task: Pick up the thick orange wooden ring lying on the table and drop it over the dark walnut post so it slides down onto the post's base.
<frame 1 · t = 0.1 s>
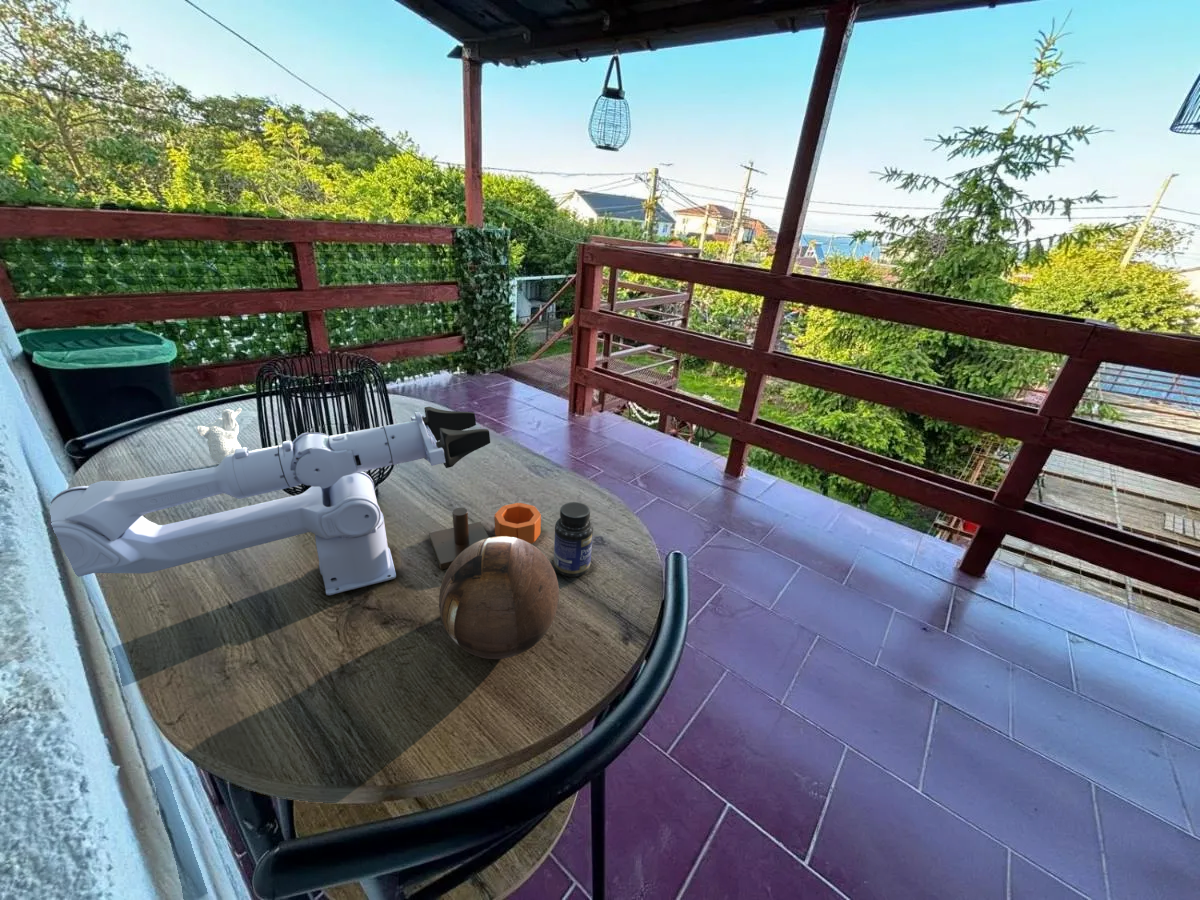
hand: (481, 427, 74), 22 cm above the table, tool horizontal, fingers open, 7 cm apart
peg stand: (462, 546, 82), on the table
ring: (517, 533, 86), on the table
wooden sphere: (501, 639, 65), on the table
pill bottle: (571, 566, 79), on the table
white sheep figurine: (233, 465, 101), on the table
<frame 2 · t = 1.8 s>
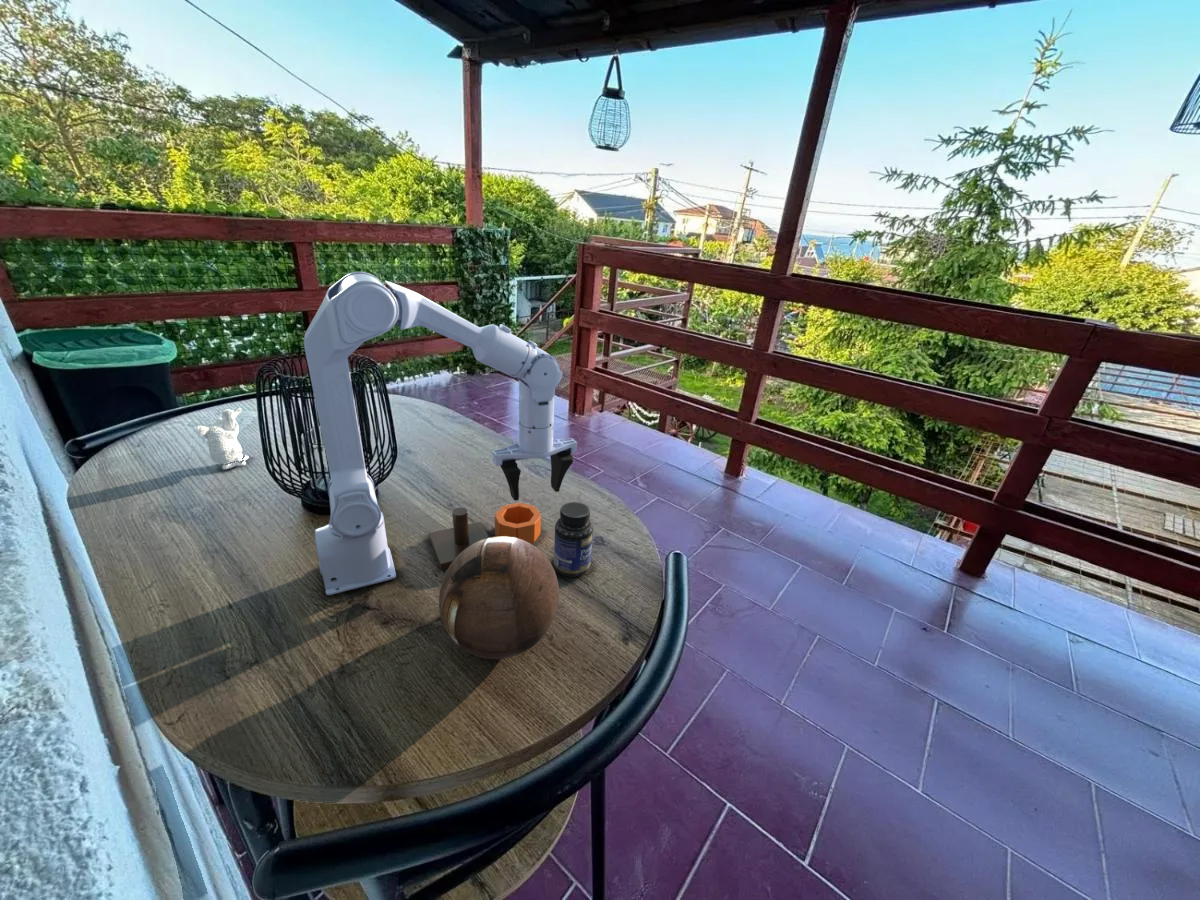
hand: (535, 493, 84), 8 cm above the table, tool pointing down, fingers open, 7 cm apart
nothing on the table moved.
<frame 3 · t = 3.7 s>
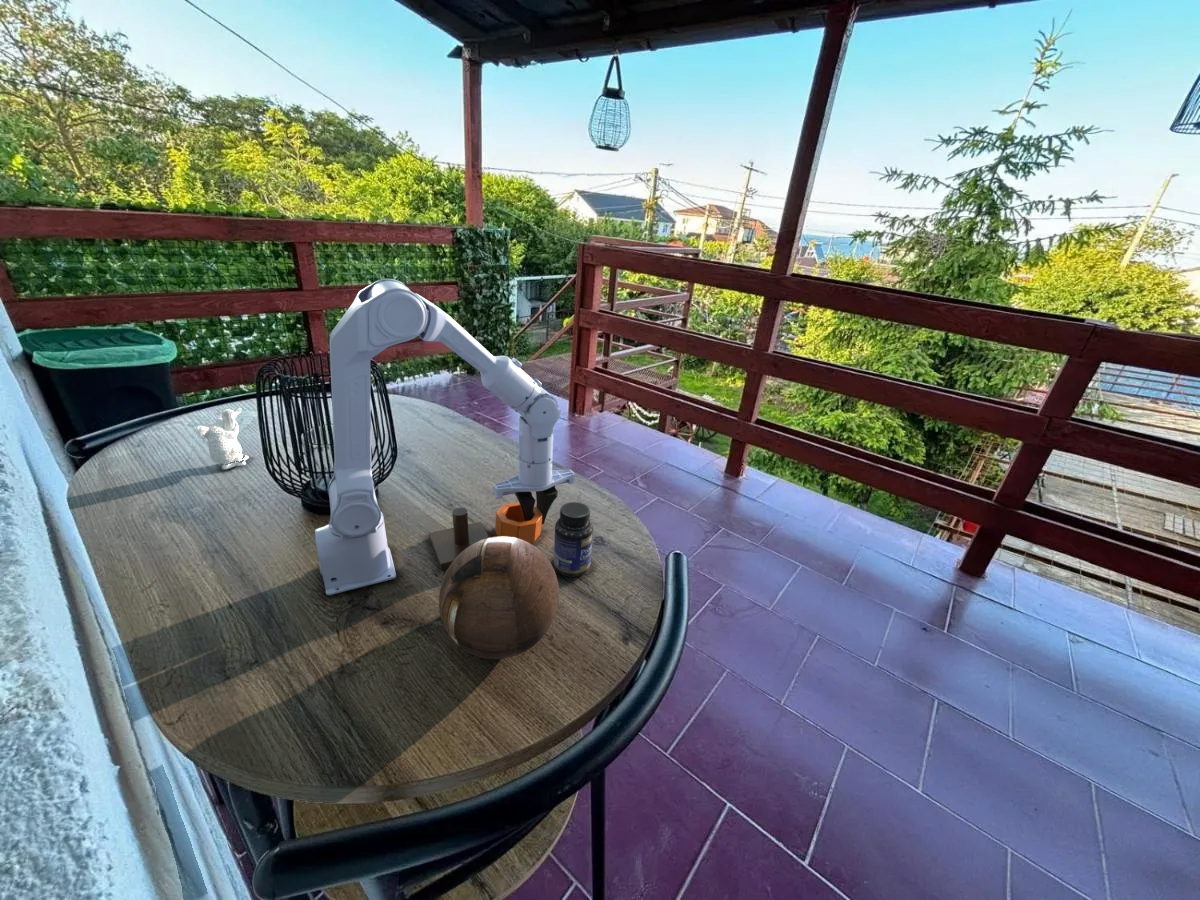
hand: (534, 522, 87), 1 cm above the table, tool pointing down, fingers closed on ring, 2 cm apart
ring: (518, 532, 86), on the table, touching gripper
everything else where it was.
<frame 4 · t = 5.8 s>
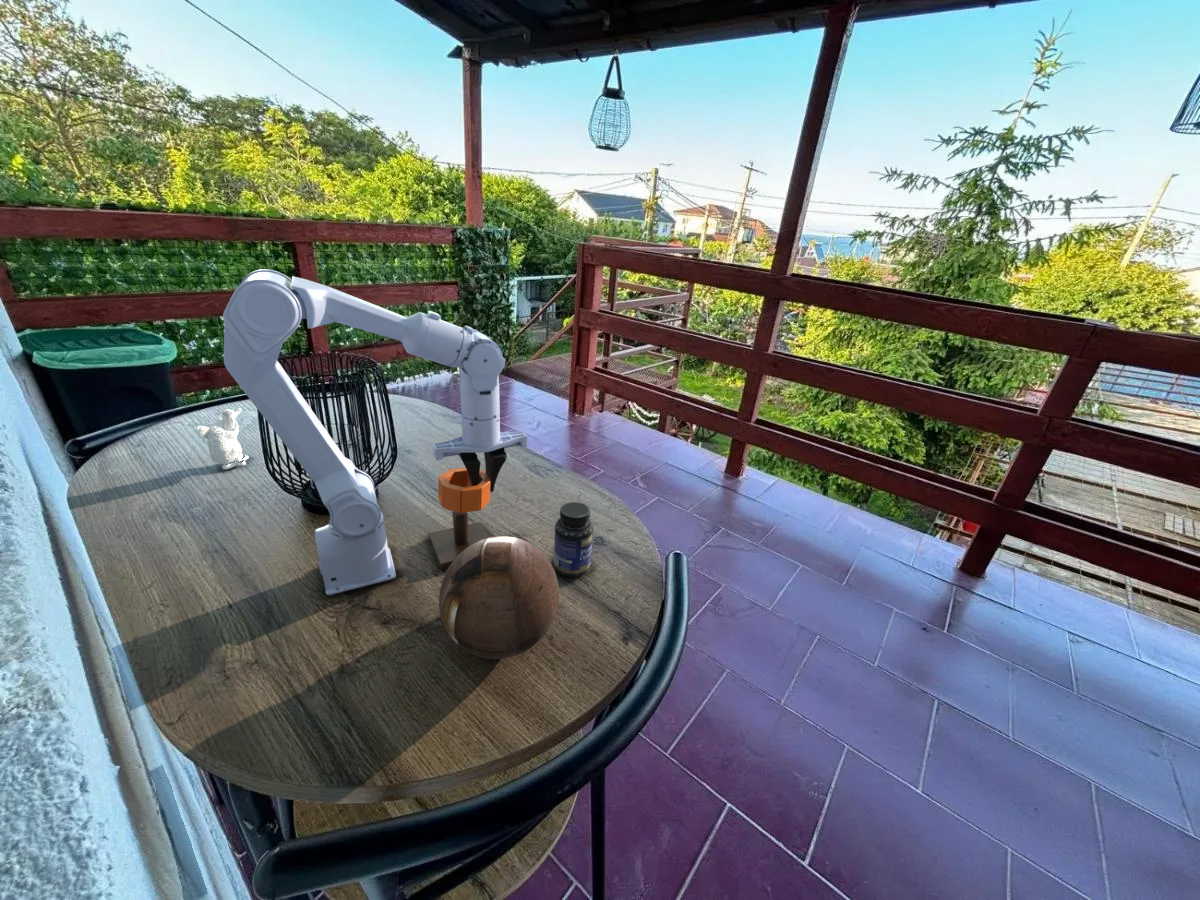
hand: (483, 490, 79), 10 cm above the table, tool pointing down, fingers closed on ring
ring: (464, 500, 78), point 9 cm above the table, touching gripper
everything else where it was.
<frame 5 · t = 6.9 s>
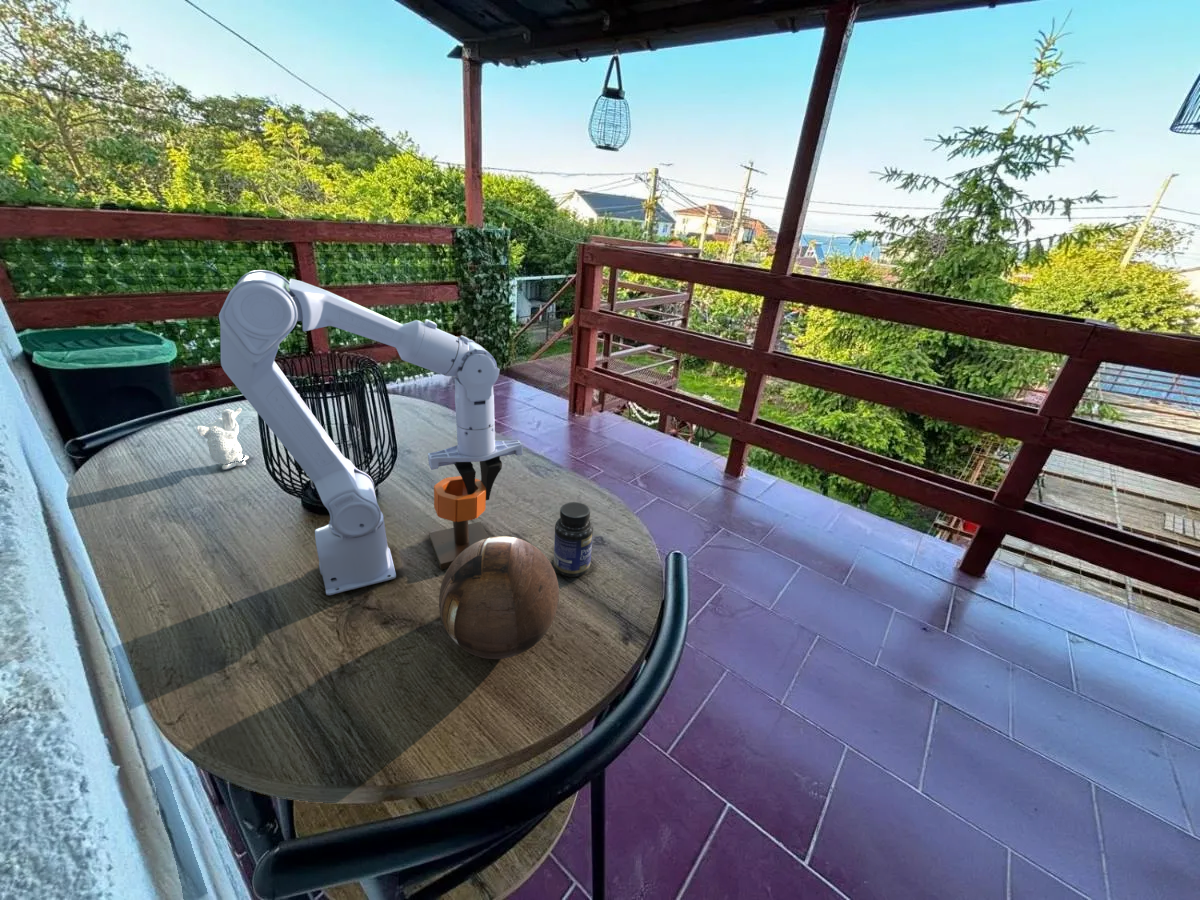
hand: (478, 498, 79), 9 cm above the table, tool pointing down, fingers closed on ring
ring: (460, 508, 78), point 8 cm above the table, touching gripper
everything else where it was.
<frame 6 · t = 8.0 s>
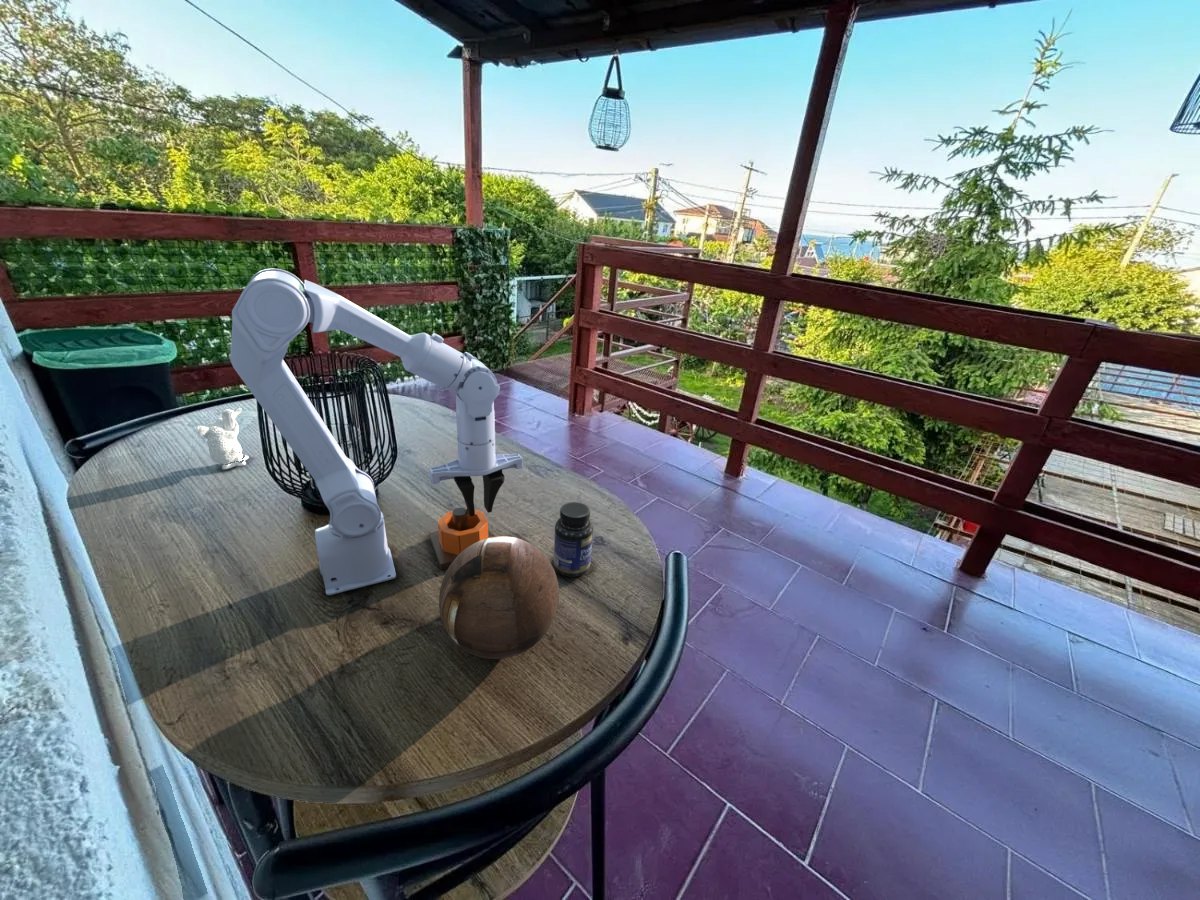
hand: (479, 511, 80), 6 cm above the table, tool pointing down, fingers closed
ring: (464, 540, 81), point 1 cm above the table, touching peg stand
everything else where it was.
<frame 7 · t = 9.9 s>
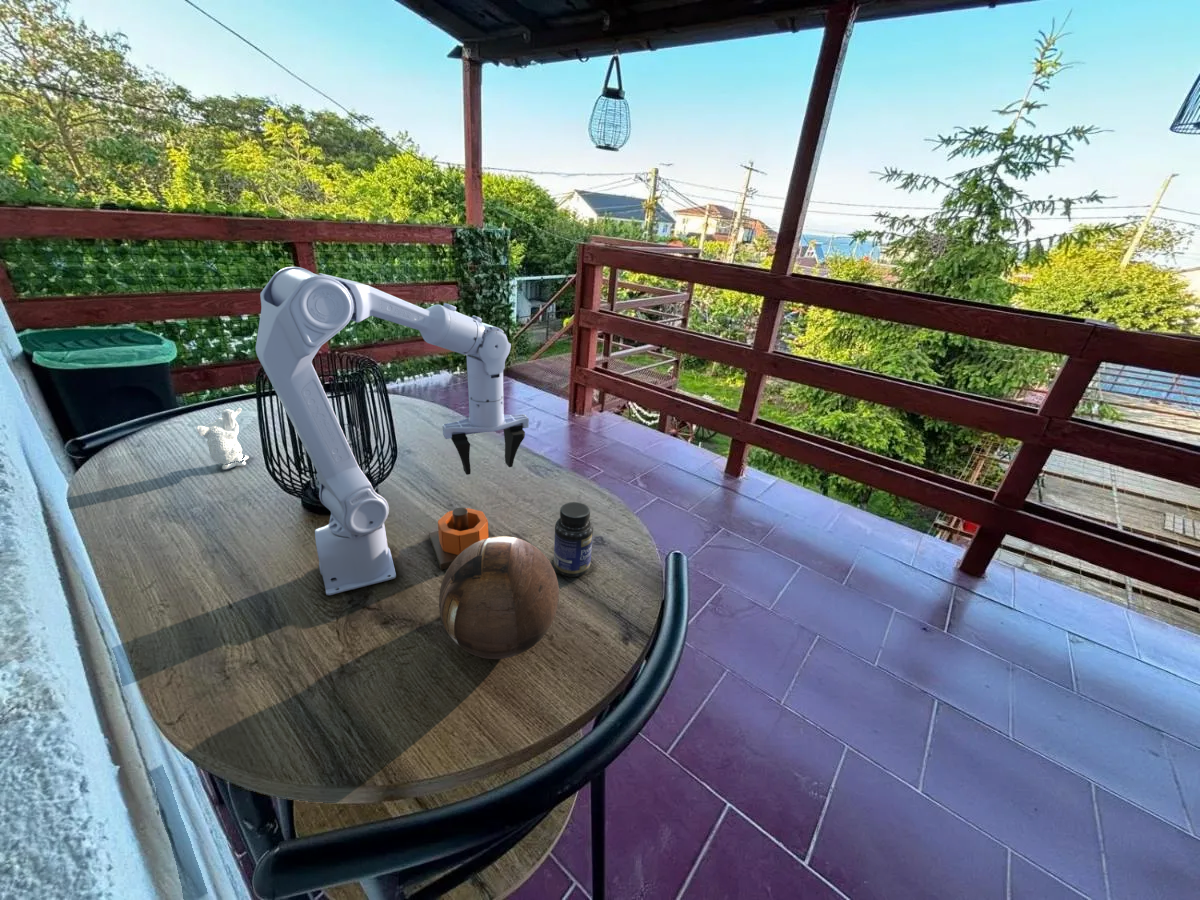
hand: (488, 468, 86), 10 cm above the table, tool pointing down, fingers open, 7 cm apart
nothing on the table moved.
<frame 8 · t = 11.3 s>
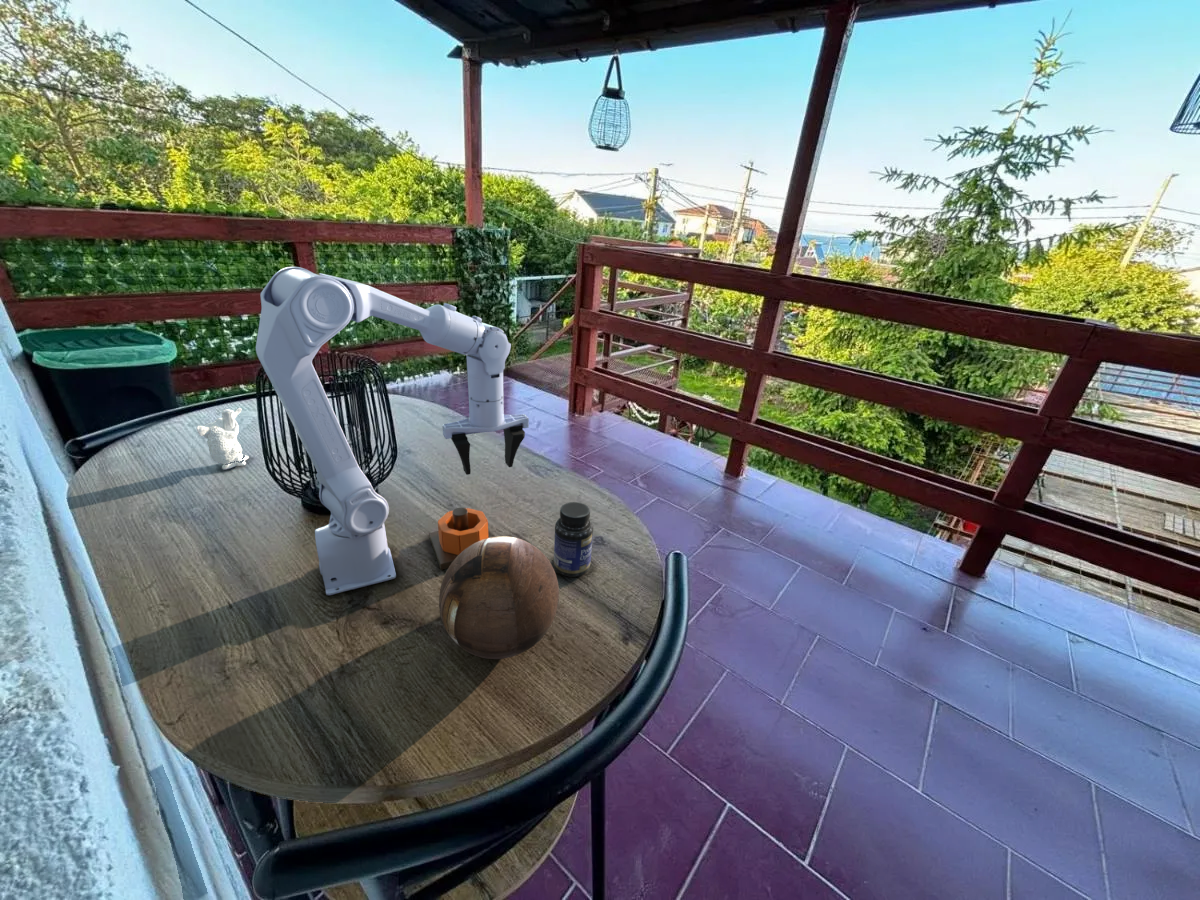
hand: (488, 468, 86), 10 cm above the table, tool pointing down, fingers open, 7 cm apart
nothing on the table moved.
at the end: ring 0.4 cm from the peg stand (horizontally); ring point 1.2 cm above the table; the gripper is holding nothing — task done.
